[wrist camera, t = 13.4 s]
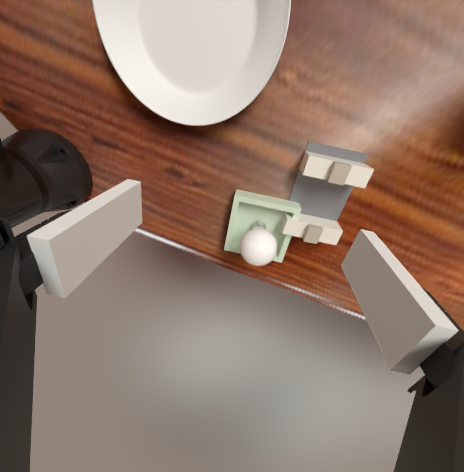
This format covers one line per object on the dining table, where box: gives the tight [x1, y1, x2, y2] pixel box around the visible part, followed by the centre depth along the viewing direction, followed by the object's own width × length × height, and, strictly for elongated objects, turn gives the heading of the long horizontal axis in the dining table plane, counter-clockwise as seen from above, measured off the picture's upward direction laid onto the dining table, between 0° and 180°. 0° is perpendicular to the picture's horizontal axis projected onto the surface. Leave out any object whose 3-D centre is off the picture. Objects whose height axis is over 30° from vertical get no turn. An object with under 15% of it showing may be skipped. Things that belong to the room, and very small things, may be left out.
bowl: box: [92, 0, 291, 126], centre depth 30 cm, size 25×25×4 cm
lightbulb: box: [239, 221, 277, 266], centre depth 40 cm, size 6×6×11 cm
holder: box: [281, 141, 374, 245], centre depth 39 cm, size 10×17×6 cm, turn 170°
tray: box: [224, 189, 301, 263], centre depth 44 cm, size 12×12×3 cm
